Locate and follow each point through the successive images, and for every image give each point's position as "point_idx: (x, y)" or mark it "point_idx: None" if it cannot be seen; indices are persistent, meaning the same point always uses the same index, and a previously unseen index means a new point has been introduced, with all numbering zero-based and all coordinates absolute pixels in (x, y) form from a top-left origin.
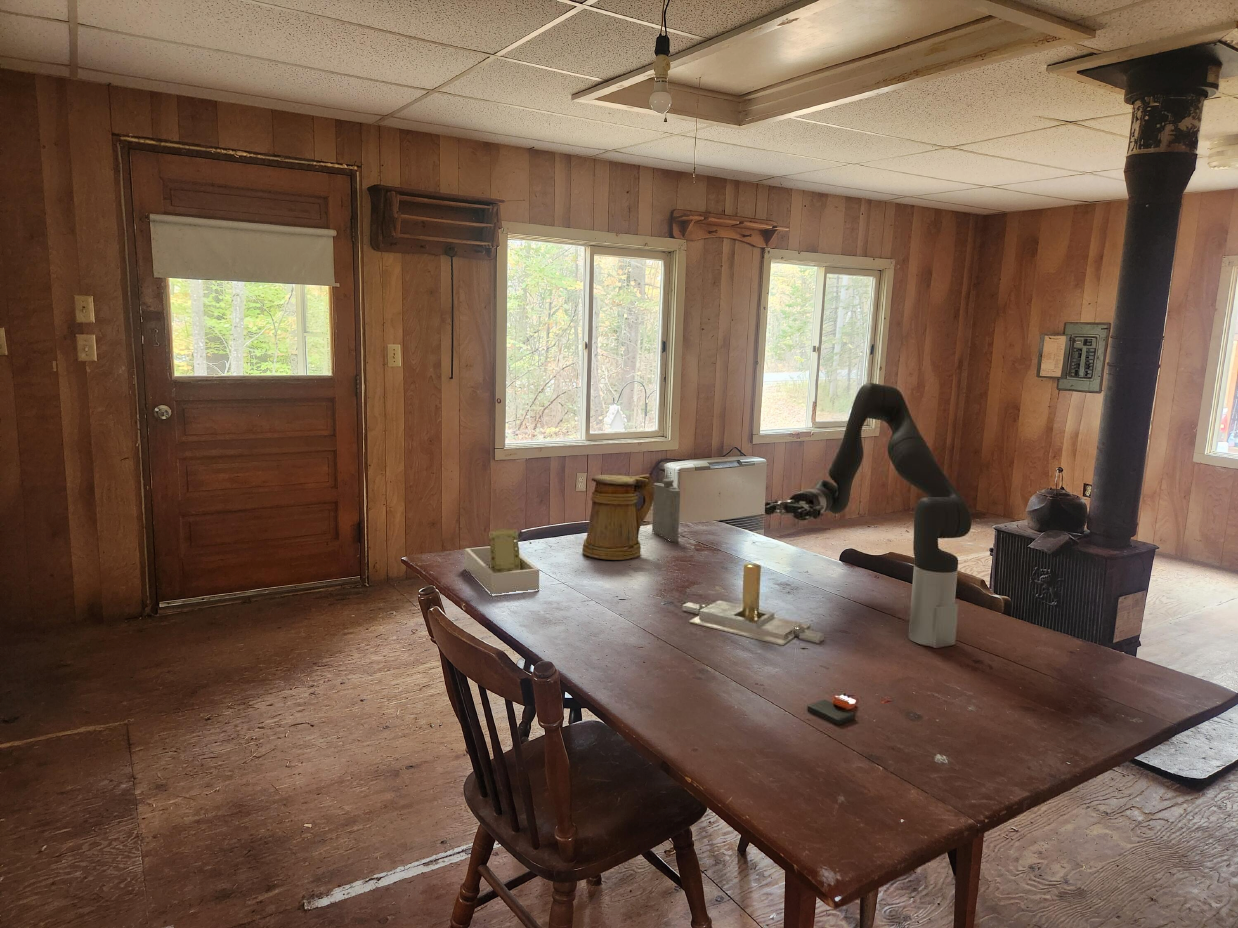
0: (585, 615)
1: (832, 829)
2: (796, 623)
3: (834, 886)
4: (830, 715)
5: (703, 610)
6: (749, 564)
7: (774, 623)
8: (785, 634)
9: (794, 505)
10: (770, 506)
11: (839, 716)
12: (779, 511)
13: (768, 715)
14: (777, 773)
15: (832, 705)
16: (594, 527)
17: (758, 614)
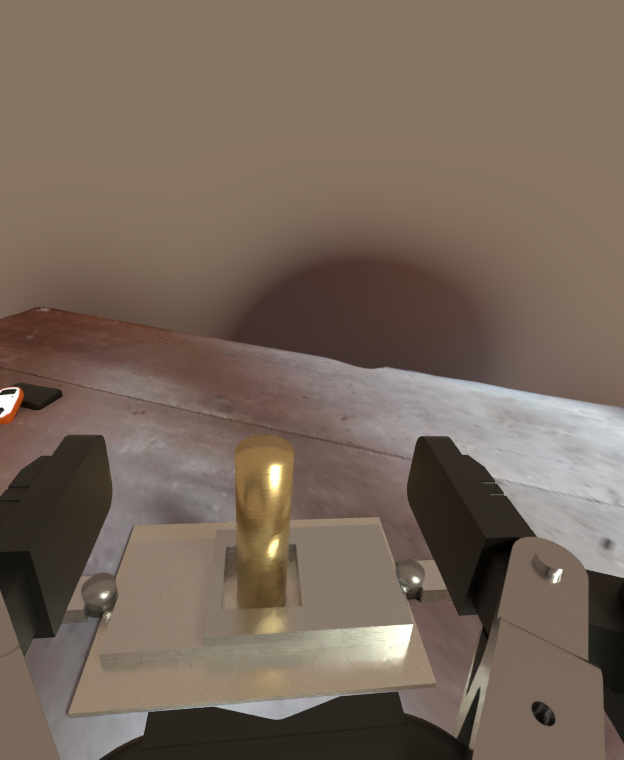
0: (519, 451)
1: (39, 323)
2: (116, 638)
3: (40, 307)
4: (30, 384)
5: (372, 529)
6: (279, 455)
7: (183, 594)
8: (134, 548)
9: (249, 736)
10: (437, 464)
11: (17, 385)
12: (464, 700)
13: (109, 377)
14: (85, 339)
15: (25, 397)
16: None
17: (237, 578)
